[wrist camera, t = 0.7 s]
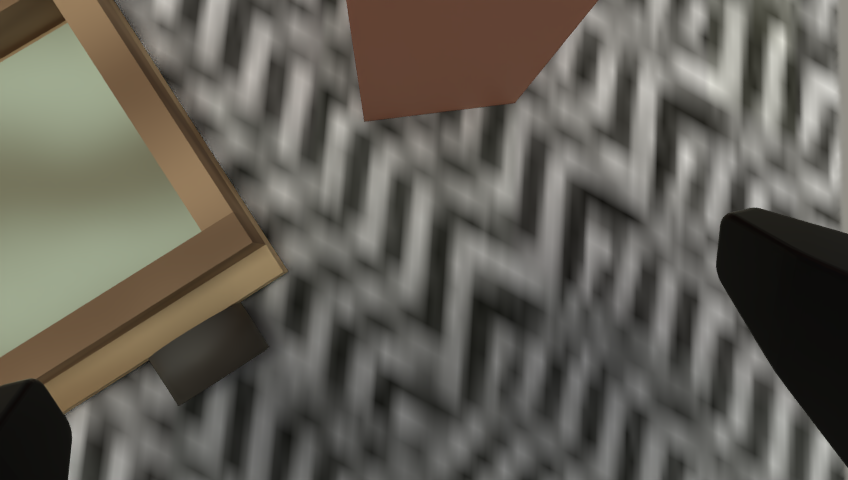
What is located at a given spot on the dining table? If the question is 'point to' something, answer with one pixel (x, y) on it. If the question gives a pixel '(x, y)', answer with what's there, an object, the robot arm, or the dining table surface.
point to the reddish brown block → (453, 51)
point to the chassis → (113, 216)
